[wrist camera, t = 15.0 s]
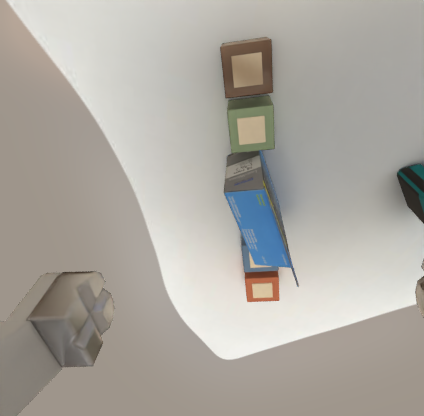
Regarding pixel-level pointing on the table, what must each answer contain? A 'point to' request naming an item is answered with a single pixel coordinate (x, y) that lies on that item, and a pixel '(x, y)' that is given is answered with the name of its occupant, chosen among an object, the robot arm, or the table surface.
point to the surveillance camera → (413, 188)
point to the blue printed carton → (256, 209)
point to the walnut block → (247, 67)
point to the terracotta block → (262, 286)
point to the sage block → (251, 124)
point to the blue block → (249, 262)
